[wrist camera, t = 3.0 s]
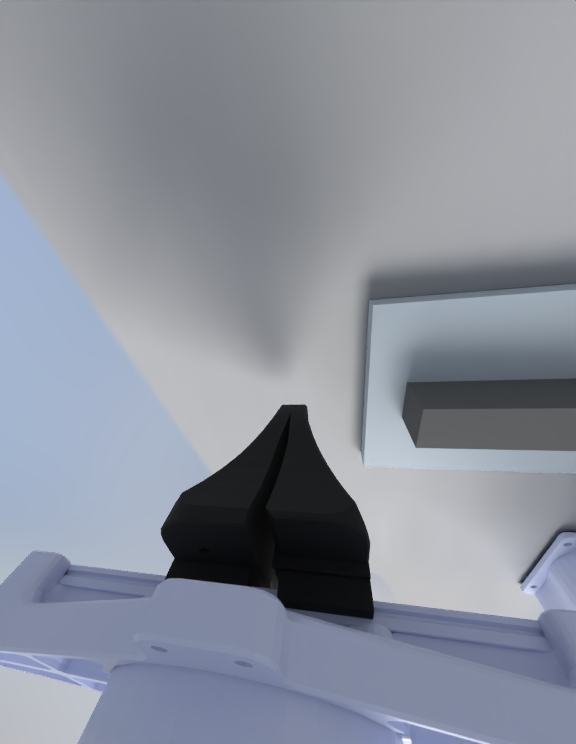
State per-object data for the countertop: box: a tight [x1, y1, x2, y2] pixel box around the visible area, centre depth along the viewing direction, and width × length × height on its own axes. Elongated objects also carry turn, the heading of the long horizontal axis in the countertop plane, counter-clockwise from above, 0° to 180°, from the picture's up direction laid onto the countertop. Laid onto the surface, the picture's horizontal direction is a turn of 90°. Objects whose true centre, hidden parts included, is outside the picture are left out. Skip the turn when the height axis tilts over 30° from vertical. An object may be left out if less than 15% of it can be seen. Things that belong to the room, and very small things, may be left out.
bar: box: [402, 378, 576, 451], centre depth 12 cm, size 2×8×2 cm, turn 97°
